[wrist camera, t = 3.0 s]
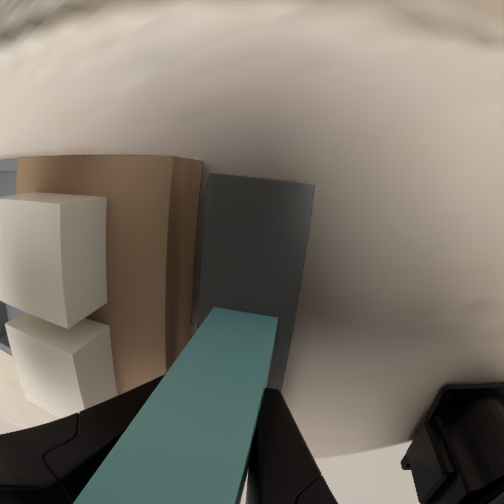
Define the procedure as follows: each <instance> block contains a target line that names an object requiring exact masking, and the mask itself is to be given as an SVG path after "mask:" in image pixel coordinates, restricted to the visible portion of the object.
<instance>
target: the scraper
mask: <svg viewBox="0 0 504 504" xmlns="http://www.w3.org/2000/svg"><path fill="white" fill-rule="evenodd" d="M314 188H315V185H312V184H305V183H298V182H290V181H282V180H274V179H265V178H256V177H247V176H237V175H227V174H213V173H209V175H208V185H207V196H206V207H205V219H204V231H203V244H202V258H201V273H200V290H199V308H198V330H197V331H196V333H195V334H194V335H193V337H192V338H191V340H190V341H189V342H188V344H187V345H186V347H185V348H184V349H183V351H182V352H181V354H180V355H179V356H178V358H177V359H176V361H175V362H174V363H173V365H172V366H171V368H170V369H169V370H168V372H167V373H166V375H165V376H164V377H163V379H162V380H161V382H160V383H159V384H158V386H157V387H156V389H155V390H154V391H153V393H152V394H151V396H150V397H149V398H148V400H147V401H146V403H145V404H144V405H143V407H142V408H141V409H140V411H139V412H138V414H137V415H136V416H135V418H134V419H133V421H132V422H131V423H130V425H129V426H128V428H127V429H126V430H125V432H124V433H123V435H122V436H121V437H120V439H119V440H118V442H117V443H116V444H115V446H114V447H113V449H112V450H111V451H110V453H109V454H108V456H107V457H106V458H105V460H104V461H103V462H102V464H101V465H100V467H99V468H98V469H97V471H96V472H95V474H94V475H93V476H92V478H91V479H90V481H89V482H88V483H87V485H86V486H85V488H84V489H83V490H82V492H81V493H80V495H79V496H78V497H77V499H76V500H75V501H74V503H73V504H240V502H241V498H242V494H243V490H244V486H245V481H246V477H247V473H248V468H249V462H250V457H251V452H252V446H253V441H254V435H255V430H256V424H257V419H258V414H259V410H260V406H261V402H262V398H263V393H264V389H265V388H266V387H267V388H274V389H279V390H280V392H281V388H282V383H283V379H284V374H285V369H286V364H287V358H288V353H289V348H290V343H291V337H292V332H293V326H294V321H295V315H296V309H297V303H298V298H299V292H300V286H301V279H302V273H303V267H304V260H305V254H306V247H307V240H308V233H309V226H310V219H311V211H312V204H313V196H314Z"/></svg>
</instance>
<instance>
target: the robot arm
mask: <svg viewBox="0 0 504 504" xmlns="http://www.w3.org/2000/svg"><path fill="white" fill-rule="evenodd" d="M165 375H166V374H164V375H162V376H160V377H158V378H156V379H153V380H151V381H149V382H147V383H145V384H143V385H140V386H138V387H136V388H134V389H131V390H129V391H127V392H125V393H122V394H120V395H118V396H115V397H113V398H111V399H108V400H106V401H104V402H101V403H99V404H97V405H94V406H92V407H89V408H87V409H84V410H82V411H80V412H79V413H74V414H72V415H69V416H67V417H64V418H61V419H58V420H55V421H52V422H50V423H46V424H43V425H39V426H35V427H32V428H28V429H23V430H19V431H15V432H10V433H6V434H1V435H0V504H73V503H74V501H75V500H76V499H77V497H78V496H79V495H80V493H81V492H82V490H83V489H84V488H85V486H86V485H87V483H88V482H89V481H90V479H91V478H92V476H93V475H94V474H95V472H96V471H97V469H98V468H99V467H100V465H101V464H102V462H103V461H104V460H105V458H106V457H107V456H108V454H109V453H110V451H111V450H112V449H113V447H114V446H115V444H116V443H117V442H118V440H119V439H120V437H121V436H122V435H123V433H124V432H125V430H126V429H127V428H128V426H129V425H130V423H131V422H132V421H133V419H134V418H135V416H136V415H137V414H138V412H139V411H140V409H141V408H142V407H143V405H144V404H145V403H146V401H147V400H148V398H149V397H150V396H151V394H152V393H153V391H154V390H155V389H156V387H157V386H158V384H159V383H160V382H161V380H162V379H163V377H164V376H165ZM448 393H450V394H449V395H447V394H448ZM446 395H447V396H446ZM401 466H402V469H403V470H411V471H412V475H413V479H414V483H415V487H416V492H417V496H418V500H419V502H420V504H504V383H492V384H463V385H447V386H445V387H443V388H442V389H441V390H440V392H439V393H438V395H437V398H436V400H435V402H434V404H433V406H432V408H431V410H430V412H429V414H428V416H427V417H426V419H425V421H424V422H423V424H422V425H421V427H420V429H419V431H418V433H417V434H416V436H415V438H414V440H413V441H412V443H411V445H410V447H409V448H408V450H407V453H406V454H405V456H404V458H403V459H402V461H401ZM246 504H338V503H337V501H336V499H335V498H334V496H333V494H332V492H331V491H330V489H329V487H328V485H327V483H326V481H325V479H324V478H323V476H321V472H320V470H319V468H318V466H317V464H316V462H315V460H314V458H313V456H312V454H311V452H310V450H309V448H308V446H307V444H306V442H305V440H304V438H303V436H302V434H301V432H300V430H299V428H298V426H297V424H296V422H295V420H294V418H293V416H292V414H291V412H290V410H289V408H288V406H287V404H286V402H285V400H284V398H283V396H282V394H281V392H280V390H279V389H274V388H267V387H266V388H265V389H264V393H263V398H262V402H261V406H260V410H259V414H258V419H257V424H256V430H255V435H254V441H253V446H252V452H251V457H250V462H249V468H248V481H247V494H246Z"/></svg>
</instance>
